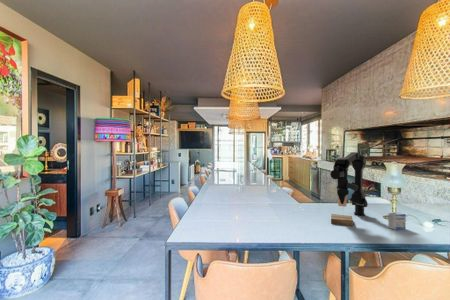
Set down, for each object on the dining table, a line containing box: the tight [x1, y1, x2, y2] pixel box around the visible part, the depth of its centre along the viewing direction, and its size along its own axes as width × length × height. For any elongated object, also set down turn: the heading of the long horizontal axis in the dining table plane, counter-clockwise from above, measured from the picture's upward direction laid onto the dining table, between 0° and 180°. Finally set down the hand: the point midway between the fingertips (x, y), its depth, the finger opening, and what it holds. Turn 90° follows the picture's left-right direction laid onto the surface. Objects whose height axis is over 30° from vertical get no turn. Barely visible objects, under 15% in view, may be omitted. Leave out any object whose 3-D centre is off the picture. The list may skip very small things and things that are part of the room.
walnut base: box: [330, 213, 354, 227], centre depth 152 cm, size 12×12×3 cm
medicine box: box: [387, 212, 407, 231], centre depth 141 cm, size 8×4×9 cm, turn 105°
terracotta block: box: [337, 195, 348, 207], centre depth 152 cm, size 4×4×7 cm
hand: (342, 203), depth 152 cm, fingers closed on terracotta block, 4 cm apart
